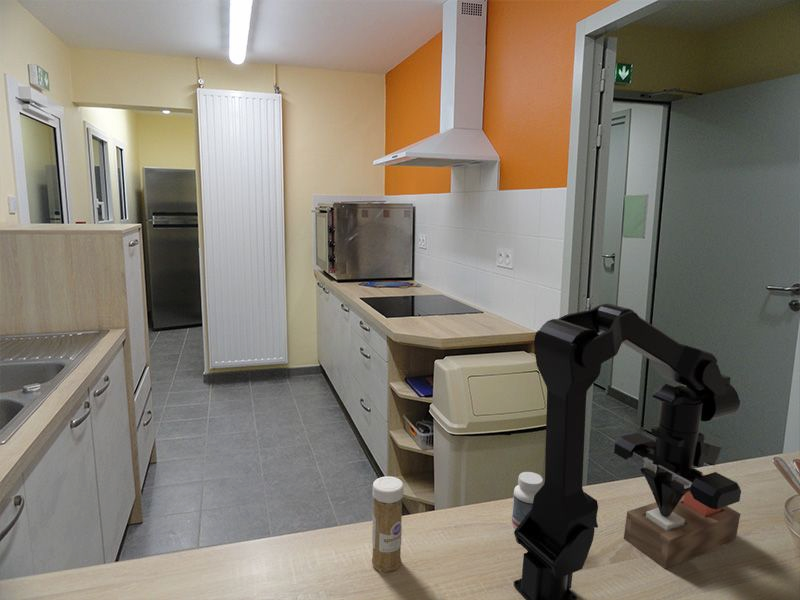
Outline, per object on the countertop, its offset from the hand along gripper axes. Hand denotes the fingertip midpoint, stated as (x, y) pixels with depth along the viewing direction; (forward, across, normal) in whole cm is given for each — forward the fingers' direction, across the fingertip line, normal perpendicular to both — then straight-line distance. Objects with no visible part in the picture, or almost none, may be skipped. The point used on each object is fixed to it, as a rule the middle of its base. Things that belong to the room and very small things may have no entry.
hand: (665, 515), depth 88 cm
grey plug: (+5, 0, 0) cm, 5 cm away
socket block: (+6, 0, -5) cm, 7 cm away
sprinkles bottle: (+6, +14, +42) cm, 45 cm away
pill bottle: (+6, +14, +16) cm, 22 cm away
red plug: (+1, 0, -9) cm, 9 cm away
